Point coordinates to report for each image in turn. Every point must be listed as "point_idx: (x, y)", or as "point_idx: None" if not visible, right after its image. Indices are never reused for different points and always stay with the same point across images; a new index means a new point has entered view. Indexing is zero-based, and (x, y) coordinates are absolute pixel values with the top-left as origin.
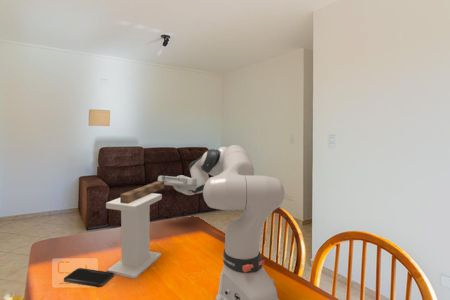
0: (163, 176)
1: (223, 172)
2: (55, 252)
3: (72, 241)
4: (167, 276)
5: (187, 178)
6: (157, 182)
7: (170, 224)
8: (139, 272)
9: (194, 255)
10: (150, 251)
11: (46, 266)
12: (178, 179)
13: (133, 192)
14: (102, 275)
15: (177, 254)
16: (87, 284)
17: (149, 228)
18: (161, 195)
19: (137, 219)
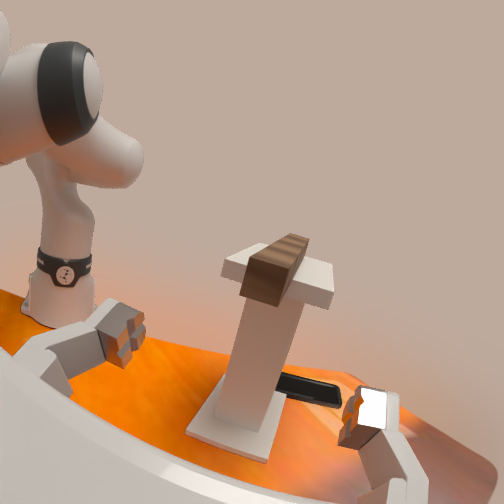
0: (365, 388)
1: (114, 127)
2: (434, 449)
3: (455, 487)
4: (163, 370)
5: (2, 350)
6: (276, 256)
7: None
8: (220, 380)
9: (91, 411)
10: (219, 442)
11: None
12: (143, 329)
13: (290, 236)
14: (285, 387)
15: (138, 429)
16: (294, 376)
17: (232, 351)
18: (224, 262)
19: None
